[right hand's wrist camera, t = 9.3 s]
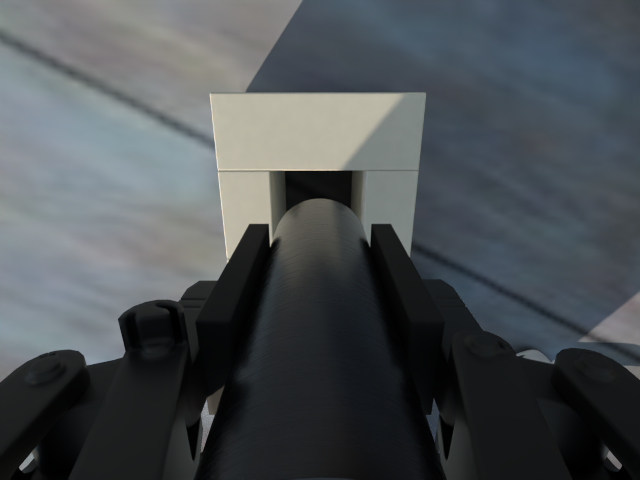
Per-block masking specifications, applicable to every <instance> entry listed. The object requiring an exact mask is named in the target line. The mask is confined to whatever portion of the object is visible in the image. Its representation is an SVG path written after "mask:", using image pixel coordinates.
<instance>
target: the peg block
mask: <svg viewBox="0 0 640 480" xmlns="http://www.w3.org/2000/svg"><path fill="white" fill-rule="evenodd" d="M210 100H211V110H212V119H213V129H214V139H215V148H216V158H217V167H218V170H219V171H218V177H219V186H220V196H221V205H222V215H223V224H224V234H225V243H226V253H227V258H228V259H227V263H228V261H229V260H230V258H231V256H232V254H233V252H234V251H235V249H236V247H237V245H238V243H239V242H240V240H241V238H242V236H243V234H244V233H245V231H246V229H247V227H248V225H249V224H269V236H270V247H271V244H272V241H273V238H274V235H275V231H276V228H277V226H278V224H279V222H280V220H281V218H282V217H283V216H284V215H285V213H286V186H285V170H352V187H351V210H352V211H353V212H354V213H355V214H356V215H357V217H358V218H359V220H360V221H361V223H362V225H363V228H364V231H365V234H366V237H367V240H368V243H369V246H370V240H371V224H391V225H392V227H393V229H394V230H395V232H396V234H397V236H398V238H399V239H400V241H401V243H402V245H403V247H404V248H405V250H406V252H407V254H408V256H409V257H410V252H411V242H412V232H413V222H414V212H415V202H416V193H417V183H418V173H419V171H418V169H419V162H420V152H421V142H422V132H423V123H424V113H425V103H426V93H425V92H211V93H210Z"/></svg>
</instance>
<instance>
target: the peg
mask: <svg viewBox="0 0 640 480" xmlns="http://www.w3.org/2000/svg"><path fill="white" fill-rule="evenodd" d="M194 480H447V479H446V476H445V473H444V470H443V467H442V464H441V461H440V458H439V454H438V451H437V448H436V445H435V442H434V439H433V436H432V433H431V430H430V427H429V424H428V421H427V418H426V415H425V412H424V409H423V406H422V403H421V400H420V397H419V394H418V391H417V388H416V385H415V382H414V379H413V376H412V373H411V370H410V367H409V364H408V361H407V358H406V355H405V352H404V349H403V346H402V343H401V340H400V337H399V334H398V331H397V328H396V325H395V322H394V319H393V316H392V313H391V310H390V306H389V303H388V300H387V297H386V294H385V291H384V288H383V285H382V282H381V279H380V276H379V273H378V270H377V267H376V264H375V261H374V258H373V255H372V252H371V249H370V246H369V243H368V240H367V237H366V234H365V231H364V228H363V225H362V223H361V221H360V220H359V218H358V217H357V215H356V214H355V213H354V212H353V211H352V210H351V209H349V208H348V207H347V206H345V205H343V204H341V203H339V202H337V201H334V200H329V199H311V200H307V201H304V202H301V203H299V204H297V205H295V206H294V207H292V208H291V209H290V210H288V211H287V212H286V213H285V215H284V216H283V217H282V218H281V220H280V222H279V224H278V226H277V228H276V231H275V235H274V238H273V241H272V244H271V247H270V250H269V253H268V256H267V259H266V262H265V265H264V268H263V271H262V274H261V277H260V280H259V283H258V286H257V289H256V292H255V295H254V298H253V301H252V304H251V307H250V310H249V313H248V316H247V319H246V322H245V325H244V328H243V331H242V334H241V337H240V341H239V344H238V347H237V350H236V353H235V356H234V359H233V362H232V365H231V368H230V371H229V374H228V377H227V380H226V383H225V386H224V389H223V392H222V395H221V398H220V401H219V404H218V407H217V410H216V413H215V416H214V419H213V422H212V425H211V428H210V431H209V434H208V437H207V440H206V443H205V447H204V450H203V453H202V456H201V459H200V462H199V465H198V468H197V471H196V474H195V477H194Z"/></svg>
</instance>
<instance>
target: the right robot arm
mask: <svg viewBox="0 0 640 480" xmlns="http://www.w3.org/2000/svg"><path fill="white" fill-rule="evenodd" d="M370 249H371V252H372V255H373V258H374V261H375V264H376V267H377V270H378V273H379V276H380V279H381V282H382V285H383V288H384V291H385V294H386V297H387V300H388V303H389V306H390V310H391V313H392V316H393V319H394V322H395V325H396V328H397V331H398V334H399V337H400V340H401V343H402V346H403V349H404V352H405V355H406V358H407V361H408V364H409V367H410V370H411V373H412V376H413V379H414V382H415V385H416V388H417V391H418V394H419V397H420V400H421V403H422V406H423V409H424V412H425V415H431V411H432V405H433V398H434V399H435V402H436V404H437V407H438V410H439V412H440V413H439V420H438V426H437V432H436V438H435V445H436V448H437V451H440V459H441V464H442V467H443V470H444V473H445V476H446V479H447V480H640V380H639V379H638V378H637V377H636V376H634V375H633V374H632V373H631V372H630V371H629V370H627V369H626V368H625V367H623V366H622V365H620V364H619V363H617V362H616V361H615V360H613V359H611V358H608V357H606V356H604V355H602V354H600V353H598V352H595V351H591V350H586V349H578V348H569V349H564V350H561V351H560V352H559V353H558V354H557V356H556V359H555V362H554V364H551V363H546V362H541V361H536V360H531V359H527V358H523V357H519V356H516V353H515V351H514V350H513V348H512V347H511V346H510V344H509V343H508V342H506V341H505V340H503V339H502V338H501V337H499V336H497V335H494V334H492V333H489V332H486V331H483V330H482V329H481V327H480V326H479V324H478V323H477V321H476V320H475V318H474V317H473V316H472V314H471V313H470V311H469V310H468V308H467V307H465V304H464V303H463V301H462V300H461V299H460V297H459V295H458V294H457V293H456V291H455V290H454V288H453V287H451V286H450V285H448V284H447V283H445V282H444V281H442V280H422V279H421V277H420V275H419V274H418V272H417V270H416V268H415V266H414V265H413V263H412V261H411V259H410V257H409V256H408V254H407V252H406V250H405V248H404V247H403V245H402V243H401V241H400V239H399V238H398V236H397V234H396V232H395V230H394V229H393V227H392V225H391V224H371V240H370ZM269 250H270V236H269V224H249V225H248V227H247V229H246V231H245V233H244V234H243V236H242V238H241V240H240V242H239V243H238V245H237V247H236V249H235V251H234V252H233V254H232V256H231V258H230V260H229V261H228V263H227V265H226V267H225V269H224V270H223V272H222V274H221V276H220V278H219V279H218V281H198V282H197V283H195V284H194V285H192V286H191V287H189V288H188V289H187V290H186V292H185V293H184V294H183V296H182V297H181V300H179V302H176V301H172V300H154V301H149V302H145V303H142V304H139V305H136V306H134V307H132V308H130V309H129V310H127V311H126V312H124V313H123V314H122V315H121V316H120V317H119V319H118V321H119V325H120V330H121V334H122V338H123V342H124V346H125V350H126V352H125V354H124V356H123V358H120V359H116V360H112V361H107V362H102V363H97V364H93V365H88V366H87V365H86V362H85V358H84V356H83V355H82V354H81V353H80V352H79V351H74V350H59V351H53V352H49V353H45V354H42V355H40V356H38V357H36V358H34V359H32V360H29V361H27V362H26V363H24V364H23V365H22V366H20V367H19V368H17V369H16V370H14V371H13V372H12V373H11V374H10V375H9V376H7V377H6V378H5V379H4V380H3V381H2V382H0V480H194V477H195V474H196V471H197V468H198V465H199V460H200V451H201V442H202V434H203V426H202V420H201V412H202V409H203V407H204V404H205V401H206V399H207V403H208V410H209V415H215V413H216V410H217V407H218V404H219V401H220V398H221V395H222V392H223V389H224V386H225V383H226V380H227V377H228V374H229V371H230V368H231V365H232V362H233V359H234V356H235V353H236V350H237V347H238V344H239V341H240V337H241V334H242V331H243V328H244V325H245V322H246V319H247V316H248V313H249V310H250V307H251V304H252V301H253V298H254V295H255V292H256V289H257V286H258V283H259V280H260V277H261V274H262V271H263V268H264V265H265V262H266V259H267V256H268V253H269ZM609 450H610V451H611V453H612V454H613V455H614V456H615V457H616V458H617V460H618V461H619V462H620V463H621V464H622V467H621V469H620V470H619V469H618V468H617V467H616V466H614V465H613V464H612V462H611V461H610V460H609V459H608V458H607V454H608V452H609ZM31 452H32V454H33V456H34V459H33V460H32V461H31V462H30V464H29V465H28V466H27V467H26V468H24V469H23V470H22V471H21V470H20V469H19V466H20V465H21V464H22V463H23V461H24V460H25V459H26V458H27V457H28V456H29V454H30V453H31Z"/></svg>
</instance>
